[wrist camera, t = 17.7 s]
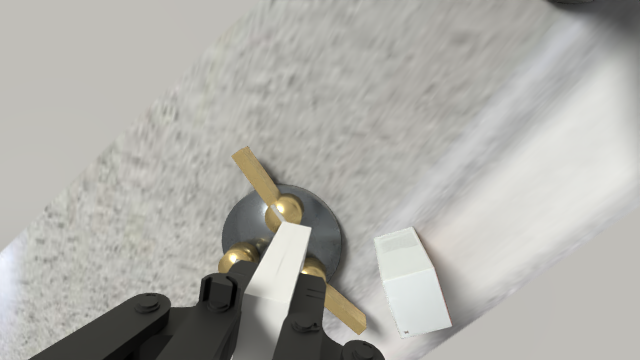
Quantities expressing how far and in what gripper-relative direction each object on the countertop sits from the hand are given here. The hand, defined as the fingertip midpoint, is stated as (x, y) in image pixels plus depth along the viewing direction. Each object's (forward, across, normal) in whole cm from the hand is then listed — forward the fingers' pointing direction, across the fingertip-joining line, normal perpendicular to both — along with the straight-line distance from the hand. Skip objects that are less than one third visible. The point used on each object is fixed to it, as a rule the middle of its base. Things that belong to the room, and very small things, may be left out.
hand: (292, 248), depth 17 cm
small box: (+33, +14, -13) cm, 38 cm away
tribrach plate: (+32, -4, -15) cm, 36 cm away
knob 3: (+30, +5, -20) cm, 37 cm away
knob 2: (+30, -7, -6) cm, 32 cm away
